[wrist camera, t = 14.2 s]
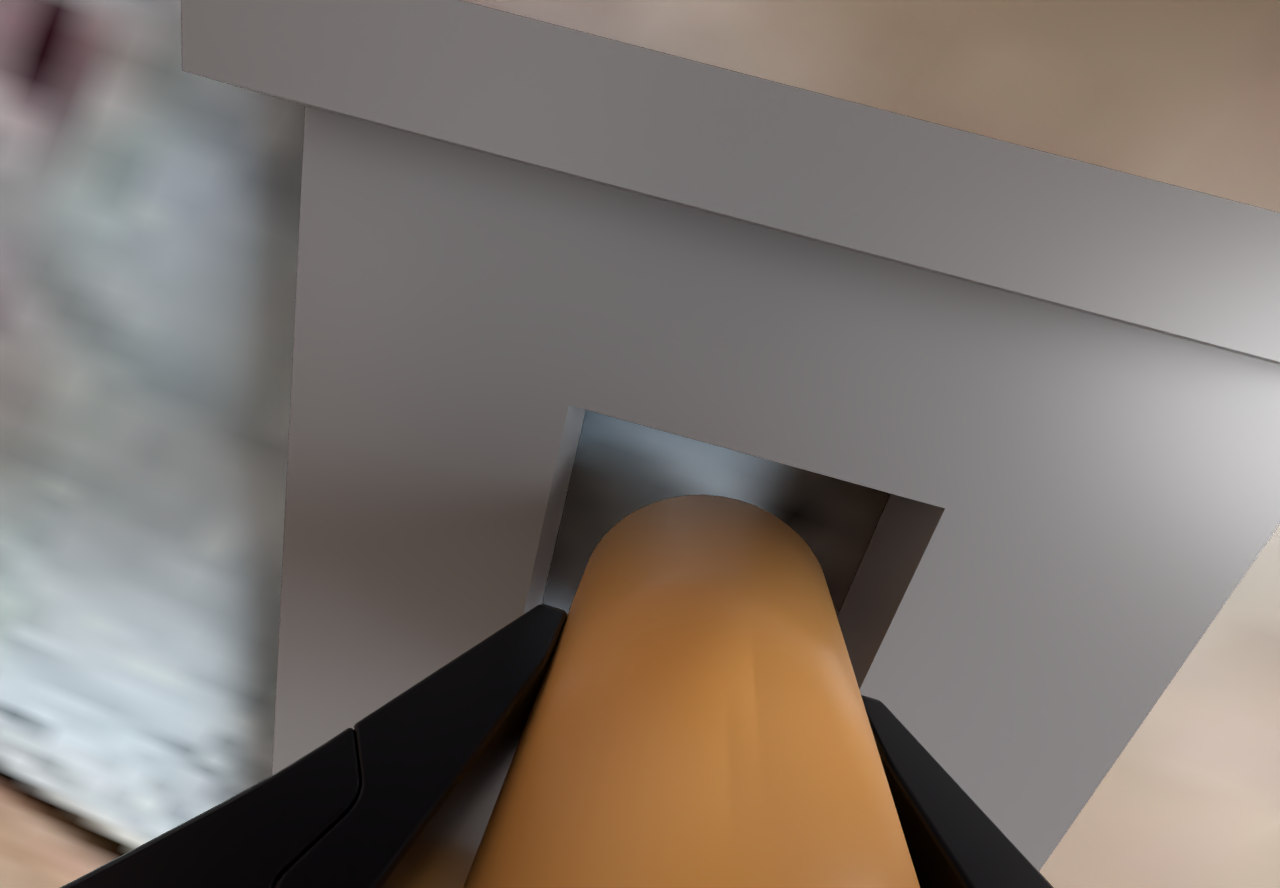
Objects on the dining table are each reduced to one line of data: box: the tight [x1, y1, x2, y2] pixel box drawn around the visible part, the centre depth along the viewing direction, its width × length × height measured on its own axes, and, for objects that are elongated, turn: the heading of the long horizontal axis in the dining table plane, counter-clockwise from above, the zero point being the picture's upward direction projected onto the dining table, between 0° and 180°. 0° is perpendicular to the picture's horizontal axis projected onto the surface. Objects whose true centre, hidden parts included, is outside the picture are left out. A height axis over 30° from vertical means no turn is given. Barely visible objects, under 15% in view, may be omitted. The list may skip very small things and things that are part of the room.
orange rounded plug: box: [463, 495, 920, 888], centre depth 7 cm, size 4×4×6 cm
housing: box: [181, 0, 1280, 871], centre depth 12 cm, size 24×14×4 cm, turn 166°
